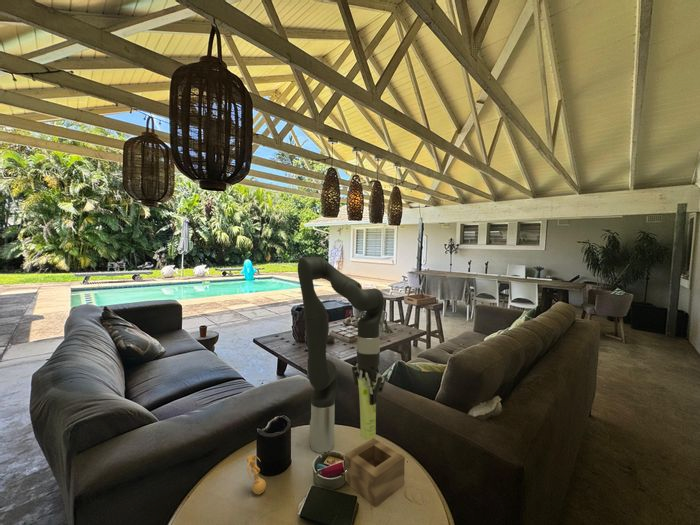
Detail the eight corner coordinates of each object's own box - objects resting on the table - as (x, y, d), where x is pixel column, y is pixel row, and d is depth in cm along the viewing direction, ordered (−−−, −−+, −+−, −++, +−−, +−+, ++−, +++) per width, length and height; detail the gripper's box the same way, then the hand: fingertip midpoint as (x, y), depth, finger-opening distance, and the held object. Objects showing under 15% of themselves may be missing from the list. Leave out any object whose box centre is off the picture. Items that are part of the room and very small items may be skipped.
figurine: (260, 503, 89) (261, 463, 89) (241, 502, 90) (241, 462, 90) (269, 483, 98) (270, 446, 98) (251, 482, 98) (252, 445, 98)
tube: (373, 442, 94) (373, 380, 94) (357, 439, 95) (357, 378, 95) (377, 432, 99) (377, 374, 99) (362, 430, 101) (362, 372, 101)
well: (344, 481, 99) (344, 454, 99) (373, 462, 108) (373, 438, 108) (375, 507, 88) (375, 477, 88) (404, 484, 98) (404, 456, 98)
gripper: (345, 347, 100) (345, 397, 100) (376, 357, 90) (375, 414, 90) (361, 343, 105) (361, 391, 105) (392, 352, 95) (392, 406, 95)
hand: (367, 401), depth 97 cm, fingers closed on tube, 4 cm apart
